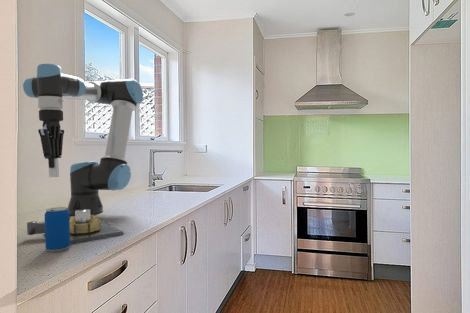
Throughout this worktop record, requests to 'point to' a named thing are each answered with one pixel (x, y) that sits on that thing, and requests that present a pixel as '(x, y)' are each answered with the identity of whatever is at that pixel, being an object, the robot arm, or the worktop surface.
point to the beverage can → (57, 229)
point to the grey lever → (74, 228)
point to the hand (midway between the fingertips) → (54, 176)
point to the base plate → (103, 232)
